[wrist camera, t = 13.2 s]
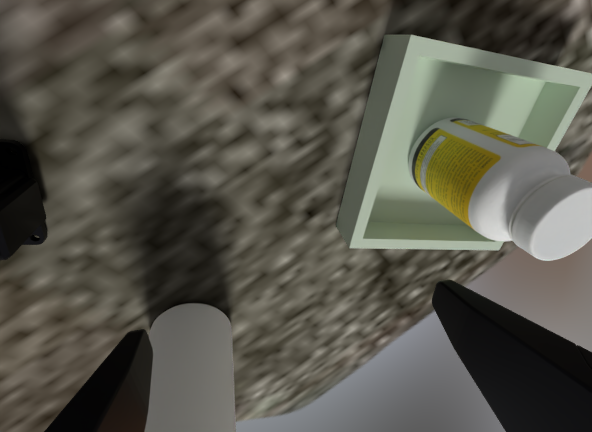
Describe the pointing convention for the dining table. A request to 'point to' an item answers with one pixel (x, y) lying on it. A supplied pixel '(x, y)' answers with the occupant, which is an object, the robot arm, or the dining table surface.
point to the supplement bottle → (504, 187)
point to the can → (191, 371)
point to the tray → (430, 109)
